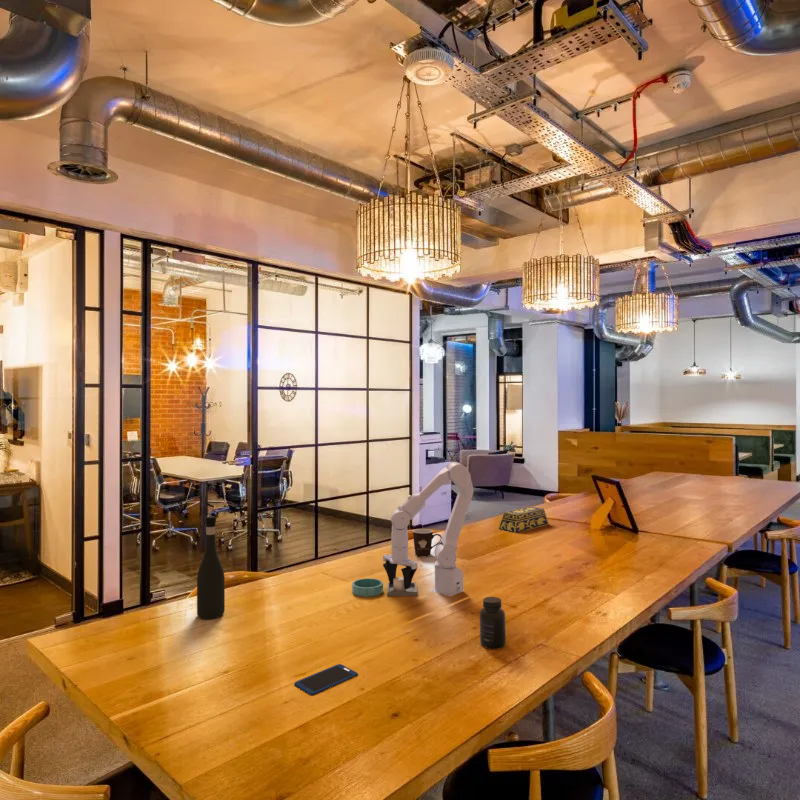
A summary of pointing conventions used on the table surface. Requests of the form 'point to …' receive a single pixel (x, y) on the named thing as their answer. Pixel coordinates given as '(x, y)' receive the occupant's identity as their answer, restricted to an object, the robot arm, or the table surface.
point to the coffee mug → (423, 541)
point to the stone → (398, 584)
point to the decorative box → (523, 519)
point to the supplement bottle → (492, 624)
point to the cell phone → (325, 679)
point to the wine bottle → (210, 578)
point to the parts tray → (409, 592)
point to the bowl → (367, 587)
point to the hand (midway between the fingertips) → (399, 585)
